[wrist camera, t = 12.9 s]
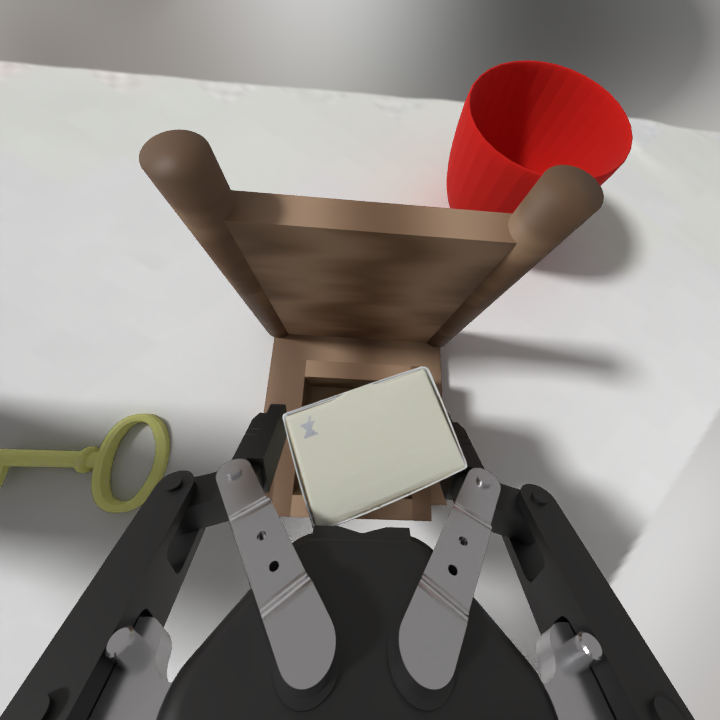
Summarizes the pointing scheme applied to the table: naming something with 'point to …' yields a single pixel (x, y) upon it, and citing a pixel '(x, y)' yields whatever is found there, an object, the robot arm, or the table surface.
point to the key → (99, 462)
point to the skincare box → (372, 446)
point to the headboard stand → (358, 278)
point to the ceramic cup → (531, 134)
